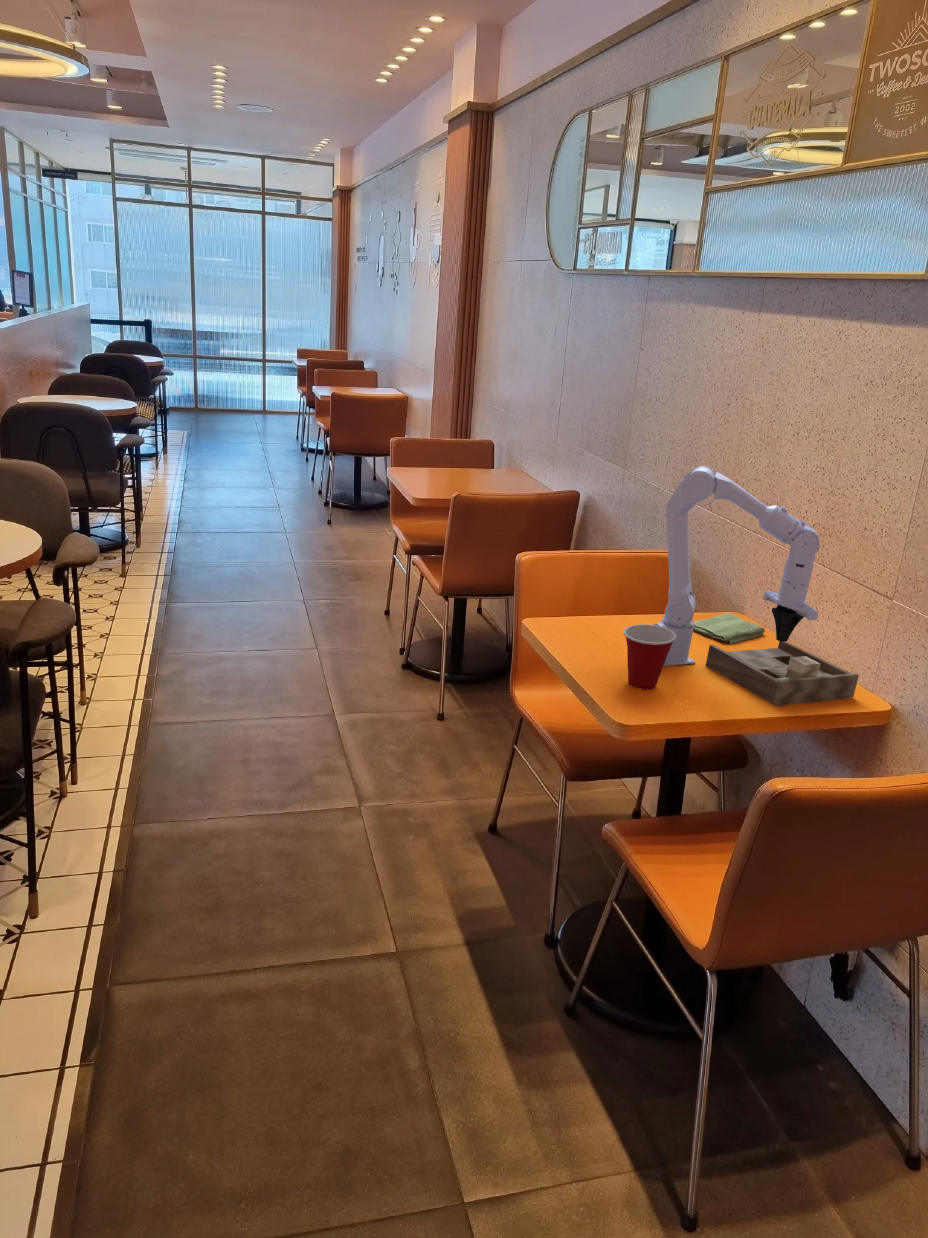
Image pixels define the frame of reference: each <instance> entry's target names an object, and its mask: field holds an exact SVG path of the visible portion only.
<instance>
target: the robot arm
mask: <svg viewBox="0 0 928 1238" xmlns="http://www.w3.org/2000/svg"><path fill="white" fill-rule="evenodd" d="M712 495H713V497H712V499H713V500H728V501H730V502H731V503H733V504H734V505H736V506H737V507H739V508H741V509H742V510H744V511H745V512H747V513H748V514H750V515H751V516H754V517H755V518H756V519H758V525H759V528H760V529H762V530H763V531H765V532H766V533H767V534H769V535H771V536H772V537H774V539H776V540H778V541H779V542H781V543H783V544H785V545H789V547H790V548H789V551H788V555H787V558H786V559H785V564H784V566H783V567H784V568H783V572H782V577H781V581H780V585H779V590H778V592H774V591H772V590H765V591H764V593H763V598H762V600H764V601H768V602H770V603H772V604H775V605H777V606H776V607H772V608H771V613H772V616H773V619H774V623H775V637H776V639H775V640H776V641H778V642H779V641H780V642H785V641H786V642H788V640H789V638H790V637H791V635H792V633H793V631H795V628H796V627H797V625H798V624H799V623H800V622H801V621H802V620H803V619H804V618H806V620H808V621H817V620H818V616H819V611H818V610H816V609H814V608H813V607H811V606H810V605H809V604H808V601H806V599H807V595H808V590H809V585H810V582H811V577H812V574H813V570H814V565H815V564H814V561H815V559H816V554H817V553H818V552H819V550H820V549H821V545H820V543H821V542H820V536H819V535H818V534H819V533H818V532H817V530H816V529H814V528H813V526H812V525H809V524H807V522H806V521H805V520H803V519H802V520H801V521H800V520H799V519H798V518H796V517H795V516H793V515H792V514H791V513H789V512H788V508H787V507H785V506H784V505H783V506H781V507H780V506H778V504H776V505H769V506H768V505H766V504H765V503H763V502H762V501H761V500H759V499H758V498H756V497H755V496H754V495H752V494H751V493H750V492H748V491H747V490H746V489H744V488H743V487H741V486H740V485H739V484H737V483H736V482H735V481H733V480H732V479H730V478H728V477H727V476H725V475H724V474H722V473H720V472H718V471H717V472H715V471H714V469H712V468H710V467H709V466H706V465H700V466H696V467H694V468H693V469H692V470H691V471H689V472H688V473H687V474H686V475H684V477H683V478H682V480H681V481H680V482H679V484H678V485H677V487H676V488H675V490H674V492H673V494H672V495H671V496H670V497H669V499H668V501H667V502H666V506H665V514H666V515H665V516H666V517H665V518H666V537H667V558H668V559H667V560H668V581H669V582H668V584H669V585H668V586H669V587H668V595H667V597H668V601H667V603H666V606H665V608H664V615H663V617H662V619H661V620H660V621H659V622H657V623H653V624H652V625H656V626H660V627H665V628H667V629H669V630H672V631H673V632H674V633H675V634H676V639H675V640H674V641H673V643H672V646H671V648H670V651H669V652H668V655H667V658H666V661H665V664H664V666H663V667H667V666H678V665H680V666H681V665H690V664H691V665H692V664H693V665H694V664H696V660H695V659H692V658H690V657H689V654H690V648H691V643H692V639H693V633H694V631H693V628H694V622H695V621H694V620H693V617H694V616H695V613H694V612H695V610H696V609H697V605H698V603H697V598H696V596H695V594H694V593H693V589H692V588H693V586H692V580H691V560H690V556H691V555H690V532H689V511H691V510H692V509H693V507H695V506H696V505H697V504H698V503H700V502H702V501H705V500H706V499H708V498H709V497H710V496H712Z"/></svg>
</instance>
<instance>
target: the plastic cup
mask: <svg viewBox="0 0 928 1238" xmlns="http://www.w3.org/2000/svg"><path fill="white" fill-rule="evenodd" d="M623 635H624V636H625V640H626V646H627V654H626V655H627V681H628V682H629V683H628V684H629V685H630V686H631V685H632V686H631V687H633V688H635V687H636V689H638V688H641V689H640V690H644V691H645V690H646V689H647V690H653V689H655V688H656V686H657V684H658V683H659V679H660V675H661V674H662V672H663V669H664V667H665V666H664V664H665V661H666V658H667V655H668V652H669V651H670V648H671V646H672V643H673V641H674V640H675V639H676V634H675V633H674V632H673V631H672V630H669V629H667V628H665V627H660V626H656V625H653V624H646V623H644V624H643V623H642V624H633V625H628V626H627V627H625V628H624V629H623ZM647 690H646V691H647Z"/></svg>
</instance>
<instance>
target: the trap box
mask: <svg viewBox="0 0 928 1238" xmlns="http://www.w3.org/2000/svg"><path fill="white" fill-rule="evenodd" d="M802 656H806V657H808V658H810V659H812V660H814V661H816V662H818V663H820V668H819V672H818V676H817V677H807V678H797V679H790V678H788V677H786V673H787V669H788V665H789V660H790V657H802ZM705 666H706V667H707V668H710V669H711V670H713V671H715V672H716V673H718V674H720V675H721V676H724V677H725V678H727V679H728V680H730V681H732V682H734V683H735V684H737V685H739V686H740V687H742V688H744V689H745V690H747V691H749V692H751V693H752V694H755V696H758V697H759V698H761V699H763V700H764V701H766V702H767V703H770V704H772V705H773V706H775V707H784V706H793V705H800V704H801V705H803V704H811V703H821V702H830V701H837V700H839V699H840V700H847V699H846V698H849V699H851V698H850V697H853V698H854V696H855V693H856V688H857V684H858V681H859V677H860V674H859V673H856V672H852V673H851V672H849V671H847V670H846V669H843V668H841V667H840V666H838V665H835V664H833V663H831V662H829V661H827V660H824V659H823V658H821V657H819V656H816V655H815V654H813V653H811V652H809V651H807V650H805V649H802V648H801V647H798V646H797V645H794V644H792V643H790V642H788V641H785V642H780V641H778V646H777V647H774V648H773V647H772V648H759V649H748V650H746V649H745V650H731V651H726V650H724V649H722V648H720V647H718V646H716V645H714V644H709V646H708V652H707V656H706V661H705ZM840 700H839V701H840Z"/></svg>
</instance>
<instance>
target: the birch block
mask: <svg viewBox="0 0 928 1238" xmlns="http://www.w3.org/2000/svg"><path fill="white" fill-rule="evenodd" d="M819 668H820V663H818V662H816V661H814V660H812V659H810V658H808V657H806V656H802V657H790V660H789V665H788V669H787V673H786V677H788V678H790V679H797V678H807V677H817V676H818V672H819Z"/></svg>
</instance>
